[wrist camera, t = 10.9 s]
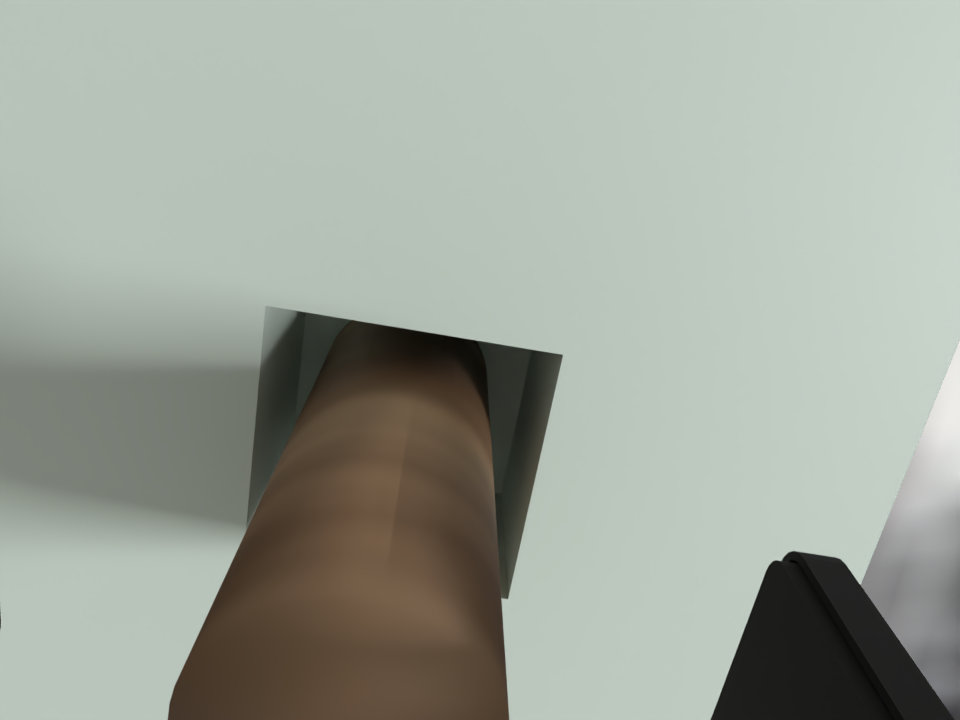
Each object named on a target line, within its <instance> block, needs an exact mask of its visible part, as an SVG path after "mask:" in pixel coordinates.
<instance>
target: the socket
mask: <svg viewBox="0 0 960 720" xmlns="http://www.w3.org/2000/svg"><path fill="white" fill-rule="evenodd" d="M351 320H355V321H361V322H368V323H374V324H380V325H386V326H392V327H398V328H404V329H410V330H416V331H422V332H428V333H434V334H440V335H446V336H452V337H458V338H464V339H470V340H476V341H477V343H478V345H479V347H480V349H481V351H482V354H483V357H484V360H485V364H486V370H487V385H488V400H489V415H490V431H491V446H492V461H493V477H494V492H495V508H496V523H497V538H498V554H499V569H500V584H501V600H502V615H503V631H504V646H505V661H506V677H507V692H508V708H509V720H711V717H712V715H713V712H714V709H715V707H716V704H717V701H718V699H719V696H720V693H721V691H722V688H723V685H724V683H725V680H726V677H727V674H728V672H729V669H730V666H731V664H732V661H733V658H734V656H735V653H736V650H737V648H738V645H739V642H740V640H741V637H742V634H743V632H744V629H745V626H746V624H747V621H748V618H749V616H750V613H751V610H752V608H753V605H754V602H755V599H756V597H757V594H758V591H759V589H760V586H761V583H762V581H763V578H764V575H765V573H766V570H767V568H768V566H769V565H770V564H771V563H772V561H775V560H778V561H782V559H783V557H784V556H785V555H786V554H787V553H788V552H791V551H797V552H804V553H810V554H817V555H823V556H830V557H836V558H839V559H841V560H842V561H843V562H844V563H845V564H846V565H847V567H848V568H849V570H850V571H851V573H852V574H853V575H854V577H855V578H856V580H857V581H858V583H859V584H860V585H861V582H862V580H863V577H864V575H865V572H866V570H867V568H868V565H869V563H870V560H871V558H872V555H873V553H874V550H875V548H876V545H877V543H878V540H879V538H880V535H881V533H882V531H883V528H884V526H885V523H886V521H887V518H888V516H889V513H890V511H891V508H892V506H893V503H894V501H895V498H896V496H897V493H898V491H899V489H900V486H901V484H902V481H903V479H904V476H905V474H906V471H907V469H908V466H909V464H910V461H911V459H912V456H913V454H914V452H915V449H916V447H917V444H918V442H919V439H920V437H921V434H922V432H923V429H924V427H925V424H926V422H927V419H928V417H929V414H930V412H931V410H932V407H933V405H934V402H935V400H936V397H937V395H938V392H939V390H940V387H941V385H942V382H943V380H944V377H945V375H946V373H947V370H948V368H949V365H950V363H951V360H952V358H953V355H954V353H955V350H956V348H957V345H958V343H959V340H960V0H0V612H1V629H0V720H168V712H169V703H170V700H171V696H172V693H173V689H174V686H175V684H176V682H177V680H178V677H179V675H180V673H181V671H182V669H183V667H184V665H185V662H186V660H187V658H188V656H189V654H190V652H191V649H192V647H193V645H194V643H195V641H196V639H197V636H198V634H199V632H200V630H201V628H202V626H203V623H204V621H205V619H206V617H207V615H208V613H209V610H210V608H211V606H212V604H213V602H214V600H215V597H216V595H217V593H218V591H219V589H220V587H221V584H222V582H223V580H224V578H225V576H226V574H227V571H228V569H229V567H230V565H231V563H232V561H233V558H234V556H235V554H236V552H237V550H238V548H239V545H240V543H241V541H242V539H243V537H244V535H245V532H246V530H247V528H248V526H249V524H250V522H251V519H252V517H253V515H254V513H255V511H256V509H257V507H258V504H259V502H260V500H261V498H262V496H263V494H264V491H265V489H266V487H267V485H268V483H269V481H270V478H271V476H272V474H273V472H274V470H275V468H276V465H277V463H278V461H279V459H280V457H281V455H282V452H283V450H284V448H285V446H286V444H287V442H288V439H289V437H290V435H291V433H292V431H293V429H294V426H295V424H296V422H297V420H298V418H299V416H300V413H301V411H302V409H303V407H304V405H305V403H306V400H307V398H308V396H309V394H310V392H311V390H312V387H313V385H314V383H315V381H316V379H317V377H318V374H319V372H320V370H321V368H322V366H323V364H324V362H325V359H326V357H327V355H328V353H329V351H330V349H331V346H332V344H333V342H334V340H335V339H336V337H337V336H338V334H339V333H340V331H341V330H342V329H343V328H344V327H345V326H346V324H347V323H349V322H350V321H351Z"/></svg>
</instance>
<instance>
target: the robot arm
mask: <svg viewBox="0 0 960 720" xmlns="http://www.w3.org/2000/svg"><path fill="white" fill-rule="evenodd" d="M0 629H1V612H0ZM711 720H954V719H953V717H952V716H951V714H950V713H949V711H948V710H947V709H946V707H945V706H944V704H943V703H942V701H941V700H940V699H939V697H938V696H937V694H936V693H935V691H934V690H933V689H932V687H931V686H930V684H929V683H928V681H927V680H926V678H925V677H924V676H923V674H922V673H921V671H920V670H919V668H918V667H917V666H916V664H915V663H914V661H913V660H912V658H911V657H910V656H909V654H908V653H907V651H906V650H905V648H904V647H903V646H902V644H901V643H900V641H899V640H898V638H897V637H896V636H895V634H894V633H893V631H892V630H891V628H890V627H889V626H888V624H887V623H886V621H885V620H884V618H883V617H882V615H881V614H880V613H879V611H878V610H877V608H876V607H875V605H874V604H873V603H872V601H871V600H870V598H869V597H868V595H867V594H866V593H865V591H864V590H863V588H862V587H861V585H860V584H859V583H858V581H857V580H856V578H855V577H854V575H853V574H852V573H851V571H850V570H849V568H848V567H847V565H846V564H845V563H844V562H843V561H842V560H841V559H839V558H836V557H830V556H823V555H817V554H810V553H804V552H797V551H791V552H788V553H787V554H786V555H785V556H784V557H783V559H782V561H778V560H775V561H772V563H771V564H770V565H769V566H768V568H767V570H766V573H765V575H764V578H763V581H762V583H761V586H760V589H759V591H758V594H757V597H756V599H755V602H754V605H753V608H752V610H751V613H750V616H749V618H748V621H747V624H746V626H745V629H744V632H743V634H742V637H741V640H740V642H739V645H738V648H737V650H736V653H735V656H734V658H733V661H732V664H731V666H730V669H729V672H728V674H727V677H726V680H725V683H724V685H723V688H722V691H721V693H720V696H719V699H718V701H717V704H716V707H715V709H714V712H713V715H712V717H711Z"/></svg>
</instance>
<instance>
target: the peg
mask: <svg viewBox="0 0 960 720" xmlns="http://www.w3.org/2000/svg"><path fill="white" fill-rule="evenodd" d="M168 720H509V708H508V692H507V677H506V661H505V646H504V631H503V615H502V600H501V584H500V569H499V554H498V538H497V523H496V508H495V492H494V477H493V461H492V446H491V431H490V415H489V400H488V385H487V370H486V364H485V360H484V357H483V354H482V351H481V349H480V347H479V345H478V343H477V341H476V340H470V339H464V338H458V337H452V336H446V335H440V334H434V333H428V332H422V331H416V330H410V329H404V328H398V327H392V326H386V325H380V324H374V323H368V322H361V321H355V320H351V321H350V322H349V323H347V324H346V326H345V327H344V328H343V329H342V330H341V331H340V333H339V334H338V336H337V337H336V339H335V340H334V342H333V344H332V346H331V349H330V351H329V353H328V355H327V357H326V359H325V362H324V364H323V366H322V368H321V370H320V372H319V374H318V377H317V379H316V381H315V383H314V385H313V387H312V390H311V392H310V394H309V396H308V398H307V400H306V403H305V405H304V407H303V409H302V411H301V413H300V416H299V418H298V420H297V422H296V424H295V426H294V429H293V431H292V433H291V435H290V437H289V439H288V442H287V444H286V446H285V448H284V450H283V452H282V455H281V457H280V459H279V461H278V463H277V465H276V468H275V470H274V472H273V474H272V476H271V478H270V481H269V483H268V485H267V487H266V489H265V491H264V494H263V496H262V498H261V500H260V502H259V504H258V507H257V509H256V511H255V513H254V515H253V517H252V519H251V522H250V524H249V526H248V528H247V530H246V532H245V535H244V537H243V539H242V541H241V543H240V545H239V548H238V550H237V552H236V554H235V556H234V558H233V561H232V563H231V565H230V567H229V569H228V571H227V574H226V576H225V578H224V580H223V582H222V584H221V587H220V589H219V591H218V593H217V595H216V597H215V600H214V602H213V604H212V606H211V608H210V610H209V613H208V615H207V617H206V619H205V621H204V623H203V626H202V628H201V630H200V632H199V634H198V636H197V639H196V641H195V643H194V645H193V647H192V649H191V652H190V654H189V656H188V658H187V660H186V662H185V665H184V667H183V669H182V671H181V673H180V675H179V677H178V680H177V682H176V684H175V686H174V689H173V693H172V696H171V700H170V703H169V712H168Z"/></svg>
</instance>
